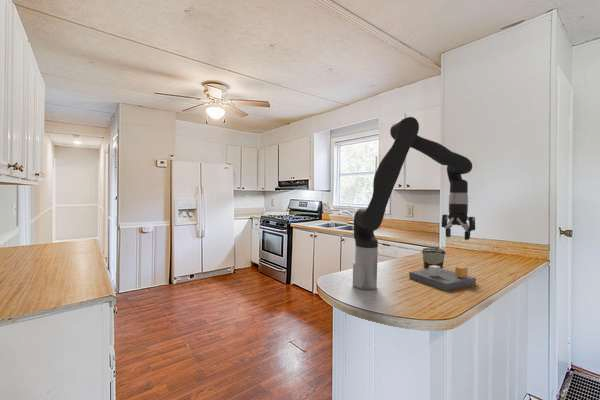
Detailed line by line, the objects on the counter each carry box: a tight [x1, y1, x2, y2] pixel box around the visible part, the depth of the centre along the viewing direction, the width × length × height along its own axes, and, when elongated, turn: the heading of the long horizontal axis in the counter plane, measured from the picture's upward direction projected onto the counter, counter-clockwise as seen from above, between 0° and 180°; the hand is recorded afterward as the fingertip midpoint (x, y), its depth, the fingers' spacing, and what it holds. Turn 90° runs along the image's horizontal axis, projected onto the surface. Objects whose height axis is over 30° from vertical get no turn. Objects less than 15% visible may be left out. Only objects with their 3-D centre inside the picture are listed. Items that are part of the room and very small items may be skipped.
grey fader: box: [428, 265, 441, 277], centre depth 124 cm, size 4×3×4 cm
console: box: [408, 268, 477, 292], centre depth 127 cm, size 20×19×3 cm
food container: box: [421, 247, 447, 269], centre depth 152 cm, size 12×6×10 cm, turn 84°
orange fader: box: [454, 265, 469, 278], centre depth 124 cm, size 4×3×4 cm
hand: (457, 238), depth 126 cm, fingers open, 8 cm apart
